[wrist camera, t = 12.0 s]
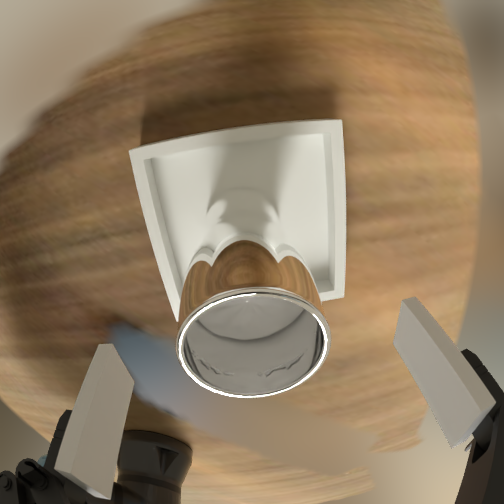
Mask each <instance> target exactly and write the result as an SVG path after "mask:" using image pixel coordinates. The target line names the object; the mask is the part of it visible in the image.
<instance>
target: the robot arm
mask: <svg viewBox="0 0 504 504" xmlns="http://www.w3.org/2000/svg"><path fill="white" fill-rule="evenodd" d="M393 345H394V346H395V348H396V350H397V351H398V353H399V354H400V356H401V358H402V359H403V361H404V363H405V364H406V366H407V368H408V370H409V371H410V373H411V375H412V376H413V378H414V380H415V382H416V383H417V385H418V387H419V389H420V390H421V392H422V394H423V396H424V397H425V399H426V401H427V403H428V405H429V407H430V408H431V410H432V412H433V414H434V416H435V418H436V420H437V421H438V423H439V425H440V427H441V429H442V431H443V433H444V435H445V437H446V439H447V441H448V443H449V445H450V447H451V448H454V447H455V446H457V445H459V444H461V443H462V442H464V441H466V440H467V439H468V438H469V436H470V435H471V434H473V436H474V439H473V440H472V441H471V442H470V443H469V444H468V445H467V447H466V449H465V451H467V450H468V449H469V448H470V447H471V450H470V454H469V458H468V462H467V466H466V469H465V473H464V476H463V480H462V483H461V486H460V489H459V492H458V495H457V498H456V501H455V504H504V392H503V391H502V389H501V388H500V387H499V385H498V384H497V382H496V381H495V379H494V378H493V377H492V375H491V374H490V373H489V372H488V370H487V369H486V367H485V366H484V365H483V364H482V362H481V361H480V359H479V358H478V357H477V355H475V354H474V353H472V352H471V351H469V350H468V349H465V350H463V351H461V352H460V351H459V349H458V348H457V347H456V345H455V344H454V343H453V341H452V340H451V339H450V338H449V336H448V335H447V334H446V333H445V331H444V330H443V329H442V328H441V326H440V325H439V324H438V323H437V321H436V320H435V319H434V318H433V317H432V315H431V314H430V313H429V312H428V311H427V309H426V308H425V307H424V306H423V305H422V304H421V302H420V301H419V300H418V299H417V298H416V297H412V298H408V299H404V300H402V303H401V308H400V313H399V318H398V323H397V328H396V332H395V336H394V341H393ZM134 383H135V382H134V381H133V379H132V377H131V375H130V374H129V372H128V370H127V369H126V367H125V365H124V363H123V362H122V360H121V358H120V356H119V354H118V353H117V351H116V349H115V347H114V345H113V344H99V345H98V348H97V350H96V352H95V354H94V357H93V359H92V362H91V364H90V366H89V369H88V371H87V374H86V376H85V379H84V381H83V384H82V386H81V389H80V392H79V394H78V397H77V400H76V402H75V405H74V408H73V410H66V411H65V412H64V413H63V415H62V416H61V417H60V418H59V421H58V424H57V427H56V430H55V433H54V435H53V437H54V438H52V441H51V444H50V447H49V451H48V454H44V455H42V456H41V457H40V458H39V460H38V462H36V461H34V460H33V459H29V458H27V459H23V460H22V461H21V462H19V464H18V466H17V468H16V472H15V473H16V475H14V474H13V473H12V472H10V471H3V472H1V473H0V504H181V486H182V483H183V481H184V479H185V477H186V475H187V473H188V470H189V468H190V466H191V464H192V451H191V449H190V448H189V447H188V446H187V445H185V444H184V443H182V442H180V441H178V440H176V439H173V438H171V437H168V436H165V435H161V434H157V433H152V432H146V431H124V432H123V430H124V425H125V421H126V416H127V412H128V408H129V403H130V399H131V395H132V391H133V387H134ZM116 465H117V468H118V479H117V483H116V482H114V476H115V470H116Z"/></svg>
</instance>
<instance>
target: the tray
mask: <svg viewBox="0 0 504 504" xmlns="http://www.w3.org/2000/svg"><path fill="white" fill-rule="evenodd" d="M129 154H130V159H131V164H132V168H133V173H134V177H135V182H136V186H137V190H138V194H139V198H140V202H141V206H142V210H143V214H144V218H145V222H146V225H147V229H148V233H149V236H150V240H151V243H152V247H153V250H154V254H155V257H156V260H157V264H158V267H159V270H160V273H161V277H162V280H163V283H164V286H165V289H166V292H167V295H168V298H169V301H170V304H171V307H172V310H173V313H174V316H175V318H176V321H178V317H179V307H180V299H181V293H182V288H183V283H184V279H185V276H186V272H187V269H188V266H189V263H190V261H191V259H192V257H193V255H194V253H195V251H196V249H197V248H198V246H199V244H200V243H201V241H202V240H203V238H204V237H205V236H206V234H207V230H206V217H207V213H208V210H209V208H210V206H211V205H212V203H213V202H214V201H215V200H216V199H217V198H218V197H219V196H220V195H222V194H224V193H225V192H227V191H230V190H234V189H241V188H244V189H251V190H255V191H257V192H259V193H261V194H263V195H264V196H266V197H267V198H268V199H269V200H270V201H271V202H272V204H273V205H274V207H275V209H276V212H277V215H278V227H279V228H280V229H281V230H282V231H283V232H284V233H285V234H286V235H287V236H288V237H289V238H290V239H291V240H292V242H293V243H294V244H295V245H296V247H297V248H298V249H299V251H300V252H301V254H302V255H303V257H304V259H305V261H306V263H307V265H308V266H309V268H310V270H311V273H312V275H313V278H314V281H315V283H316V286H317V289H318V292H319V295H320V299H321V301H326V300H332V299H337V298H343V297H344V288H345V264H346V184H345V160H344V143H343V129H342V120H340V119H330V118H329V119H310V120H296V121H284V122H274V123H264V124H256V125H248V126H240V127H233V128H226V129H220V130H214V131H208V132H202V133H197V134H191V135H186V136H181V137H176V138H171V139H167V140H162V141H158V142H153V143H149V144H145V145H141V146H138V147H136V148H133V149H131V150H129Z"/></svg>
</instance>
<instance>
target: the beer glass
mask: <svg viewBox="0 0 504 504" xmlns="http://www.w3.org/2000/svg"><path fill="white" fill-rule="evenodd" d="M206 230H207V234H206V236H205V237H204V238H203V240H202V241H201V243H200V244H199V246H198V248H197V249H196V251H195V253H194V255H193V257H192V259H191V261H190V263H189V266H188V269H187V272H186V276H185V279H184V283H183V288H182V293H181V299H180V307H179V317H178V332H177V337H176V343H175V347H176V354H177V358H178V361H179V363H180V365H181V367H182V368H183V370H184V371H185V372H186V373H187V374H188V375H189V377H190V378H191V379H193V380H194V381H195V382H196V383H198V384H199V385H201V386H202V387H204V388H206V389H208V390H210V391H213V392H215V393H218V394H221V395H225V396H231V397H238V398H261V397H267V396H272V395H276V394H280V393H283V392H286V391H288V390H291V389H293V388H295V387H297V386H299V385H300V384H302V383H304V382H305V381H307V380H308V379H309V378H310V377H312V376H313V375H314V374H315V373H316V372H317V371H318V370H319V369H320V367H321V366H322V365H323V363H324V361H325V360H326V358H327V356H328V353H329V350H330V346H331V331H330V327H329V324H328V322H327V320H326V317H325V313H324V309H323V305H322V302H321V299H320V295H319V292H318V289H317V286H316V283H315V281H314V278H313V275H312V273H311V270H310V268H309V266H308V265H307V263H306V261H305V259H304V257H303V255H302V254H301V252H300V251H299V249H298V248H297V247H296V245H295V244H294V243H293V242H292V240H291V239H290V238H289V237H288V236H287V235H286V234H285V233H284V232H283V231H282V230H281V229H280V228H279V227H278V215H277V212H276V209H275V207H274V205H273V204H272V202H271V201H270V200H269V199H268V198H267V197H266V196H264V195H263V194H261V193H259V192H257V191H255V190H251V189H244V188H241V189H234V190H230V191H227V192H225V193H224V194H222V195H220V196H219V197H218V198H217V199H216V200H215V201H214V202H213V203H212V205H211V206H210V208H209V210H208V213H207V217H206Z"/></svg>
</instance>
